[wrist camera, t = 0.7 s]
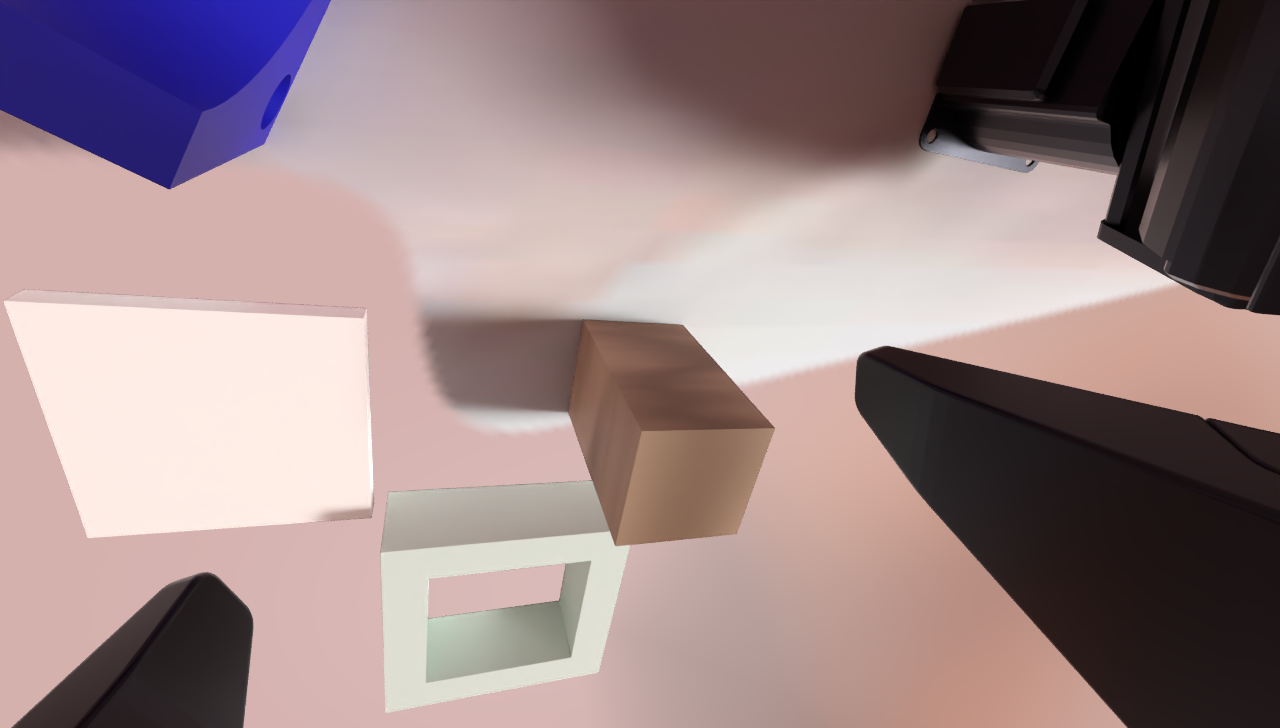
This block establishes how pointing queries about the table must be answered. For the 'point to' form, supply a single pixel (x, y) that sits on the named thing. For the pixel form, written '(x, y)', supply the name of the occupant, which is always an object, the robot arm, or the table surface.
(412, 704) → the frame
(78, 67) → the cable clip
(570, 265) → the table surface
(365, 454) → the tile
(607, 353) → the walnut peg block
